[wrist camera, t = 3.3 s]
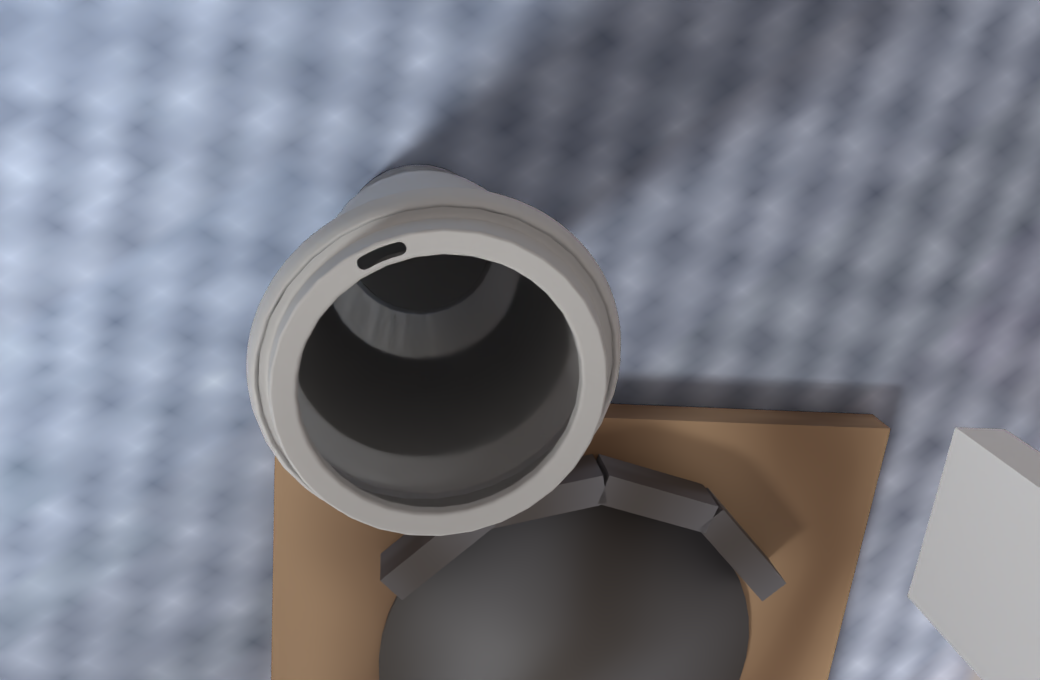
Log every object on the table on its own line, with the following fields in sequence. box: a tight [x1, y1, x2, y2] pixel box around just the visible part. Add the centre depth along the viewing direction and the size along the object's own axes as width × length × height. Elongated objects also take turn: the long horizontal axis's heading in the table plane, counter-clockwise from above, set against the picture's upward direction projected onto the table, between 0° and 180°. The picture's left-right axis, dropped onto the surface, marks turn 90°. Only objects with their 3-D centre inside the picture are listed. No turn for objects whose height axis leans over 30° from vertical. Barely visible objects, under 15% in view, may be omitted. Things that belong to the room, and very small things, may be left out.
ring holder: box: [271, 404, 890, 680], centre depth 31 cm, size 20×18×3 cm
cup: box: [246, 165, 621, 536], centre depth 21 cm, size 7×7×12 cm
